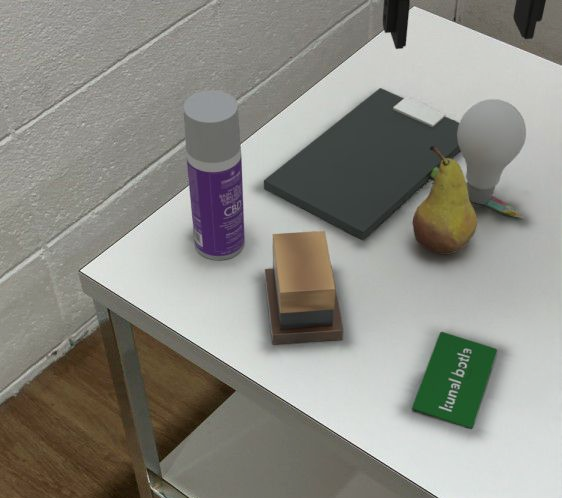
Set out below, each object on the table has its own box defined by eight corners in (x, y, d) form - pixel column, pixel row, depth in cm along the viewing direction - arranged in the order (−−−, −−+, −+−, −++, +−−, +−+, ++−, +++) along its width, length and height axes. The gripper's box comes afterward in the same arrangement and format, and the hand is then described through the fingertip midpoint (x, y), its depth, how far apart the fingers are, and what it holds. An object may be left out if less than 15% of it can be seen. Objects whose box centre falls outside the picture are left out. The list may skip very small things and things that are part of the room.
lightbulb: (495, 175, 94) (515, 80, 86) (519, 215, 90) (543, 120, 82) (437, 186, 93) (451, 91, 85) (460, 227, 90) (477, 132, 81)
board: (379, 95, 103) (380, 87, 102) (474, 137, 98) (475, 129, 97) (263, 188, 93) (263, 180, 92) (362, 240, 88) (363, 232, 88)
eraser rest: (330, 273, 86) (331, 264, 85) (342, 339, 80) (343, 330, 80) (264, 278, 85) (264, 268, 84) (272, 344, 80) (272, 335, 79)
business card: (496, 351, 80) (439, 333, 81) (497, 349, 80) (440, 331, 80) (471, 430, 75) (411, 409, 76) (472, 427, 74) (411, 407, 75)
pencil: (526, 219, 90) (376, 143, 98) (528, 210, 90) (377, 134, 97) (519, 226, 90) (368, 149, 97) (521, 217, 89) (369, 140, 96)
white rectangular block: (405, 99, 101) (405, 96, 101) (445, 116, 99) (445, 114, 99) (392, 109, 100) (393, 107, 99) (432, 127, 98) (433, 125, 97)
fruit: (466, 271, 86) (489, 165, 76) (404, 259, 87) (419, 153, 77) (475, 231, 89) (498, 124, 80) (415, 220, 90) (431, 113, 81)
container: (234, 265, 86) (227, 128, 75) (186, 253, 87) (172, 116, 76) (251, 232, 89) (247, 95, 77) (205, 221, 90) (194, 84, 78)
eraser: (322, 268, 84) (324, 230, 81) (332, 326, 80) (335, 288, 76) (272, 271, 84) (272, 233, 80) (280, 329, 80) (280, 292, 76)
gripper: (366, -186, 55) (354, 71, 68) (654, -205, 56) (587, 53, 69) (347, -234, 60) (339, 16, 73) (613, -250, 61) (557, 0, 74)
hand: (459, 34), depth 71 cm, fingers open, 9 cm apart
